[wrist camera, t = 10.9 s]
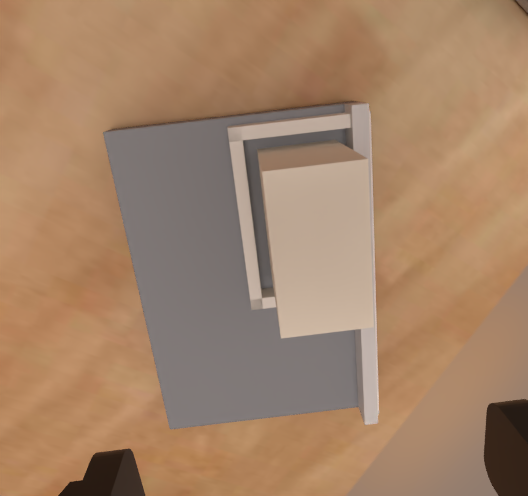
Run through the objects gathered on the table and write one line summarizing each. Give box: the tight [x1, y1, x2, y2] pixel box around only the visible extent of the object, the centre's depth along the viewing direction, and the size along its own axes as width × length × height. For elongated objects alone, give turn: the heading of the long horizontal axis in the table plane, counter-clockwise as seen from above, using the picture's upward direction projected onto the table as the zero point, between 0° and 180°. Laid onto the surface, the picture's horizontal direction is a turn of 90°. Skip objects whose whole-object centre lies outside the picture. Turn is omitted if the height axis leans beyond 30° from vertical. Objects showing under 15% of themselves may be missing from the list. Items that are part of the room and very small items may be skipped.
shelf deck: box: [103, 101, 379, 429], centre depth 32 cm, size 23×16×4 cm
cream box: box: [257, 140, 374, 338], centre depth 26 cm, size 9×5×8 cm, turn 6°
